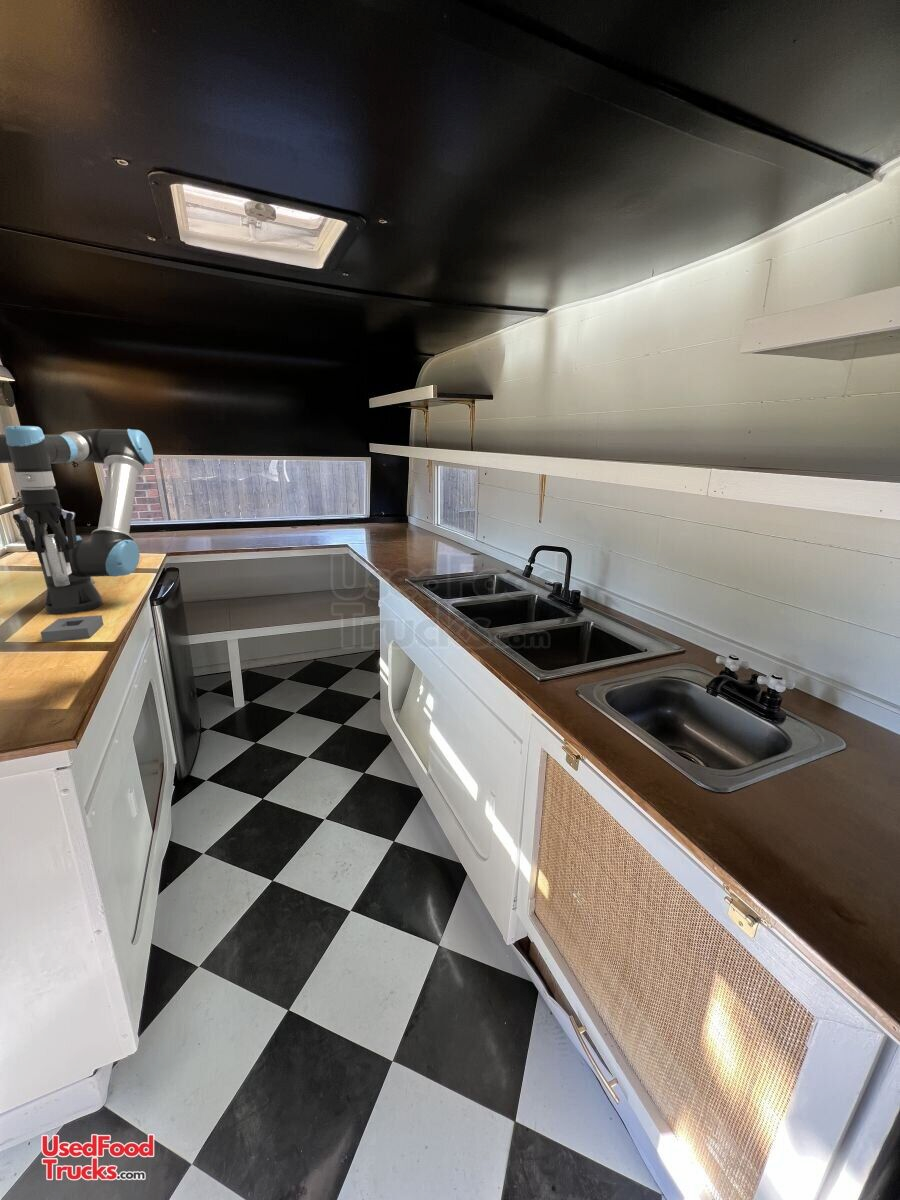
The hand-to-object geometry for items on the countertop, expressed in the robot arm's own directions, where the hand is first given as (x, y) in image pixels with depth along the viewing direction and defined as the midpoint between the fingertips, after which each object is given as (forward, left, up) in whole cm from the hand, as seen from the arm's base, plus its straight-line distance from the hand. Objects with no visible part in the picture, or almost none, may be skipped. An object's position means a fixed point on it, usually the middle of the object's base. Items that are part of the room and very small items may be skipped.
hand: (59, 574), depth 134 cm
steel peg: (0, 0, -3) cm, 3 cm away
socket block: (0, 0, -18) cm, 18 cm away
